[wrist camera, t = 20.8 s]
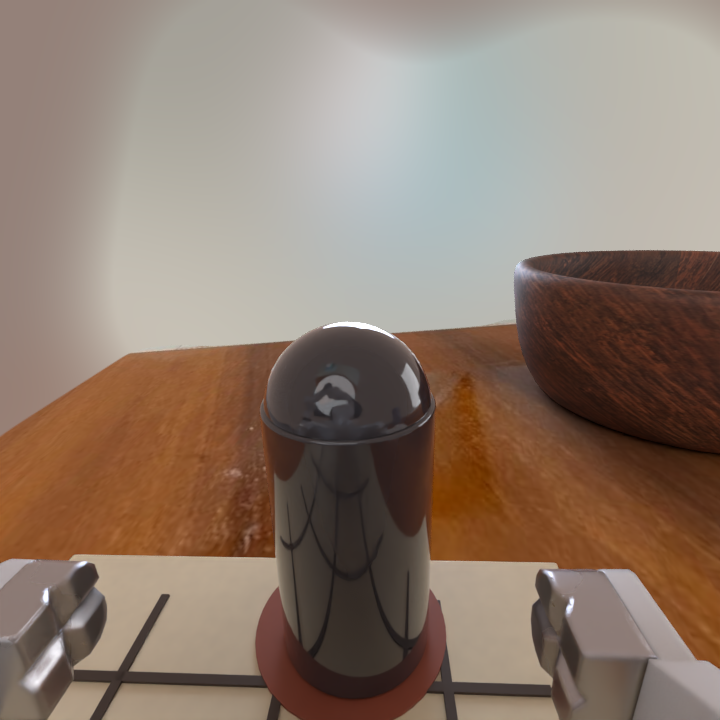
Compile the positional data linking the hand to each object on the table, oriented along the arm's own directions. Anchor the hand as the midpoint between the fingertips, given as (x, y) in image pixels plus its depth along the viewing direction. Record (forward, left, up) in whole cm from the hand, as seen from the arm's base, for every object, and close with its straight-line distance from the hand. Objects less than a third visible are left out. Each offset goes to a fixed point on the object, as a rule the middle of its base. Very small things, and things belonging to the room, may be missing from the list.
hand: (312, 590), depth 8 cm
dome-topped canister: (0, +5, -7) cm, 8 cm away
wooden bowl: (+24, +27, -8) cm, 37 cm away
